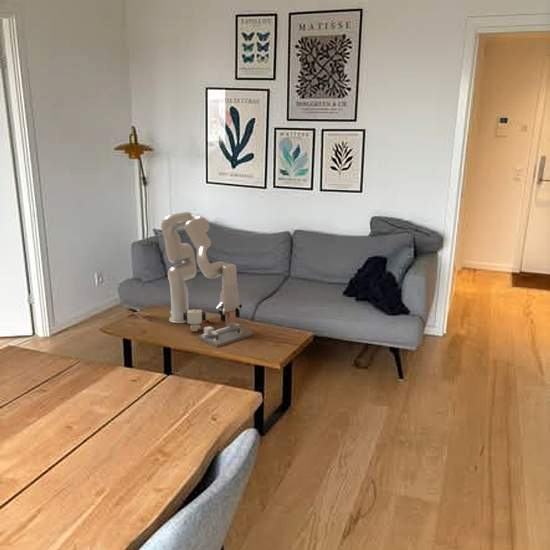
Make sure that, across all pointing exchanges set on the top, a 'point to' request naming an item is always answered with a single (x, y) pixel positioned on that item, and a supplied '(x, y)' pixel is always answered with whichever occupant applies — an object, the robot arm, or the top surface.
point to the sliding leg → (231, 319)
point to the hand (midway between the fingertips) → (230, 319)
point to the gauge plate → (224, 335)
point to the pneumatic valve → (194, 318)
